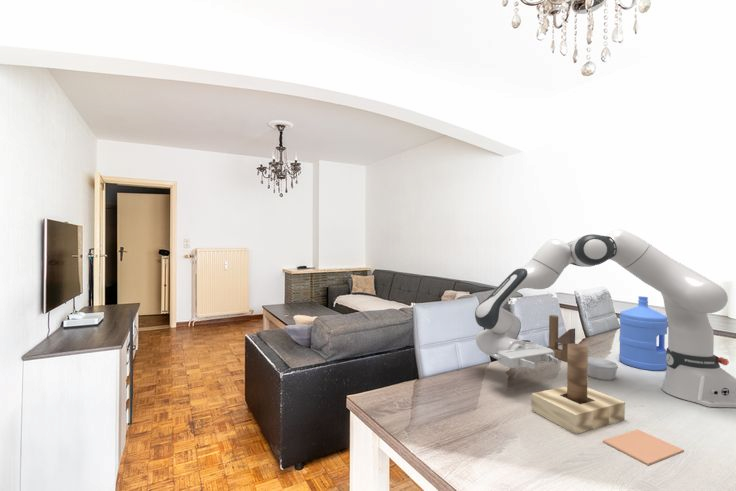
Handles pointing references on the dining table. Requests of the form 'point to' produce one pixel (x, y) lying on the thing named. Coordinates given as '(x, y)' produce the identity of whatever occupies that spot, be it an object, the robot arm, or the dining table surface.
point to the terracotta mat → (643, 446)
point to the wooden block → (559, 339)
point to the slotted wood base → (578, 409)
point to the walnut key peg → (577, 373)
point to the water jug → (643, 337)
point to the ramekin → (601, 368)
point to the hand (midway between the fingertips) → (546, 364)
